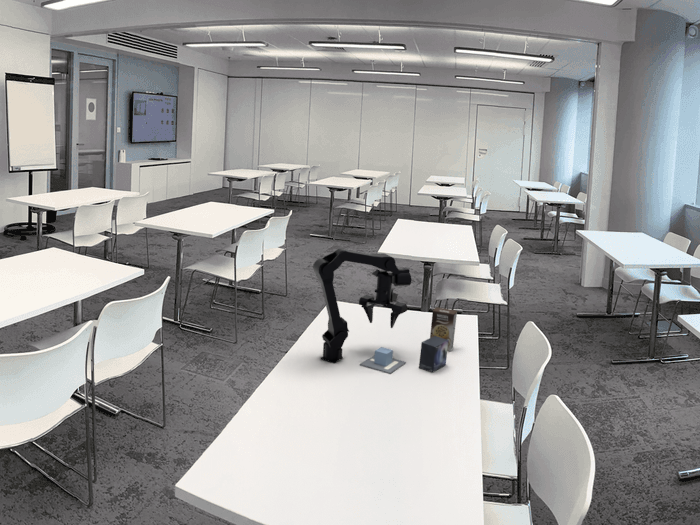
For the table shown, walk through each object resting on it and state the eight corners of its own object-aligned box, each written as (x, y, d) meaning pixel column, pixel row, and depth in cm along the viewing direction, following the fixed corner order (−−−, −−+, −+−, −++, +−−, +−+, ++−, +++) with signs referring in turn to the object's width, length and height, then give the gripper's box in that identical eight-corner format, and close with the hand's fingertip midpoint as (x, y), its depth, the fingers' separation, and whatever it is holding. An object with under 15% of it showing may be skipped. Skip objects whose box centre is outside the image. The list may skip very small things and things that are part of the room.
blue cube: (374, 363, 219) (375, 350, 218) (380, 359, 224) (381, 346, 223) (385, 366, 217) (386, 353, 216) (392, 362, 221) (393, 350, 220)
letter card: (359, 365, 218) (359, 363, 218) (376, 354, 229) (376, 353, 229) (390, 374, 212) (390, 372, 212) (406, 363, 223) (406, 361, 223)
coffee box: (428, 347, 240) (431, 310, 237) (432, 342, 246) (435, 306, 242) (450, 352, 237) (454, 314, 233) (453, 347, 243) (457, 310, 239)
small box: (433, 373, 215) (435, 346, 213) (418, 368, 219) (420, 341, 216) (446, 365, 223) (449, 339, 221) (432, 360, 227) (434, 335, 225)
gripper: (415, 287, 226) (411, 325, 230) (373, 278, 235) (370, 315, 239) (402, 293, 217) (399, 332, 220) (359, 283, 226) (356, 322, 229)
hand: (381, 325), depth 227 cm, fingers open, 9 cm apart
